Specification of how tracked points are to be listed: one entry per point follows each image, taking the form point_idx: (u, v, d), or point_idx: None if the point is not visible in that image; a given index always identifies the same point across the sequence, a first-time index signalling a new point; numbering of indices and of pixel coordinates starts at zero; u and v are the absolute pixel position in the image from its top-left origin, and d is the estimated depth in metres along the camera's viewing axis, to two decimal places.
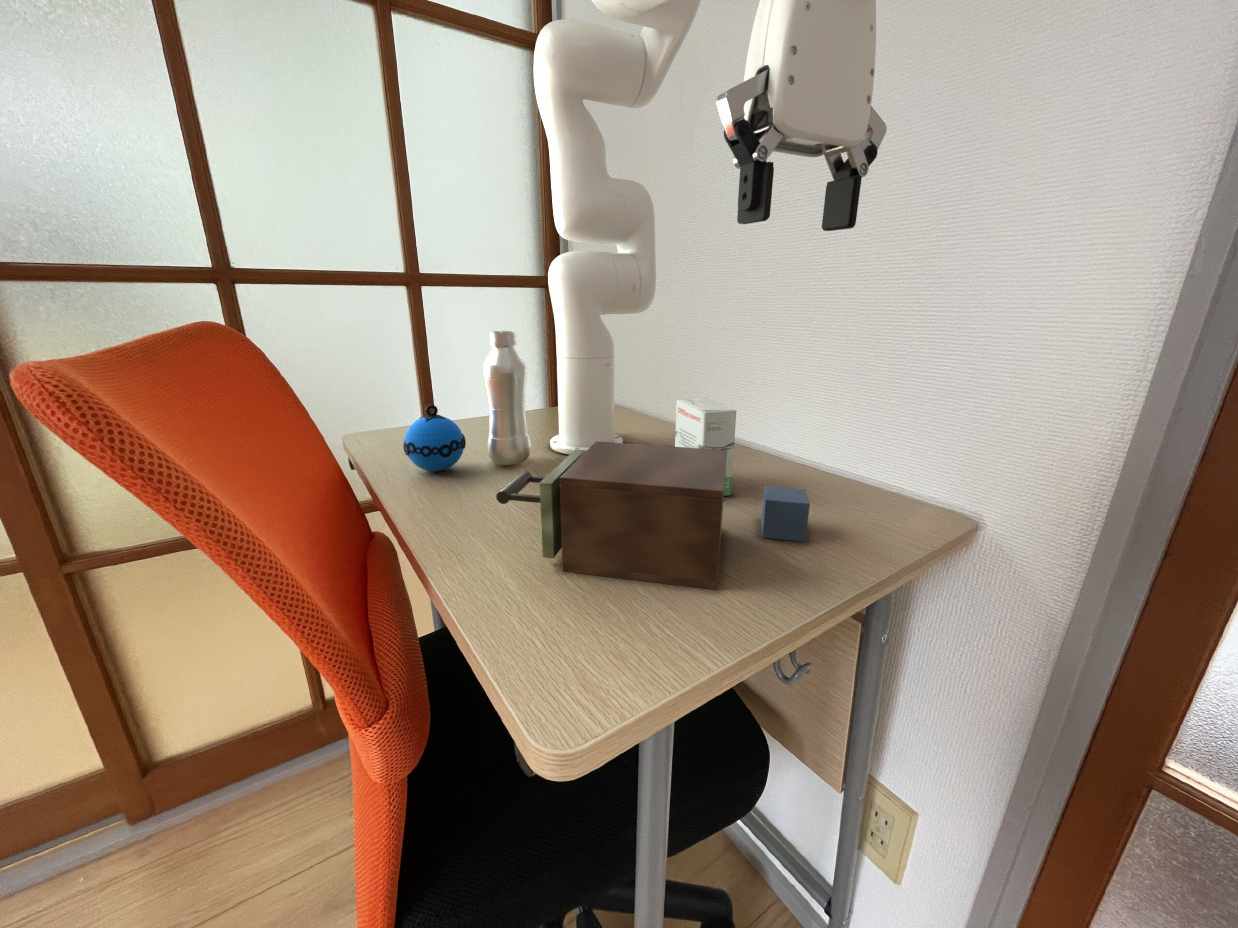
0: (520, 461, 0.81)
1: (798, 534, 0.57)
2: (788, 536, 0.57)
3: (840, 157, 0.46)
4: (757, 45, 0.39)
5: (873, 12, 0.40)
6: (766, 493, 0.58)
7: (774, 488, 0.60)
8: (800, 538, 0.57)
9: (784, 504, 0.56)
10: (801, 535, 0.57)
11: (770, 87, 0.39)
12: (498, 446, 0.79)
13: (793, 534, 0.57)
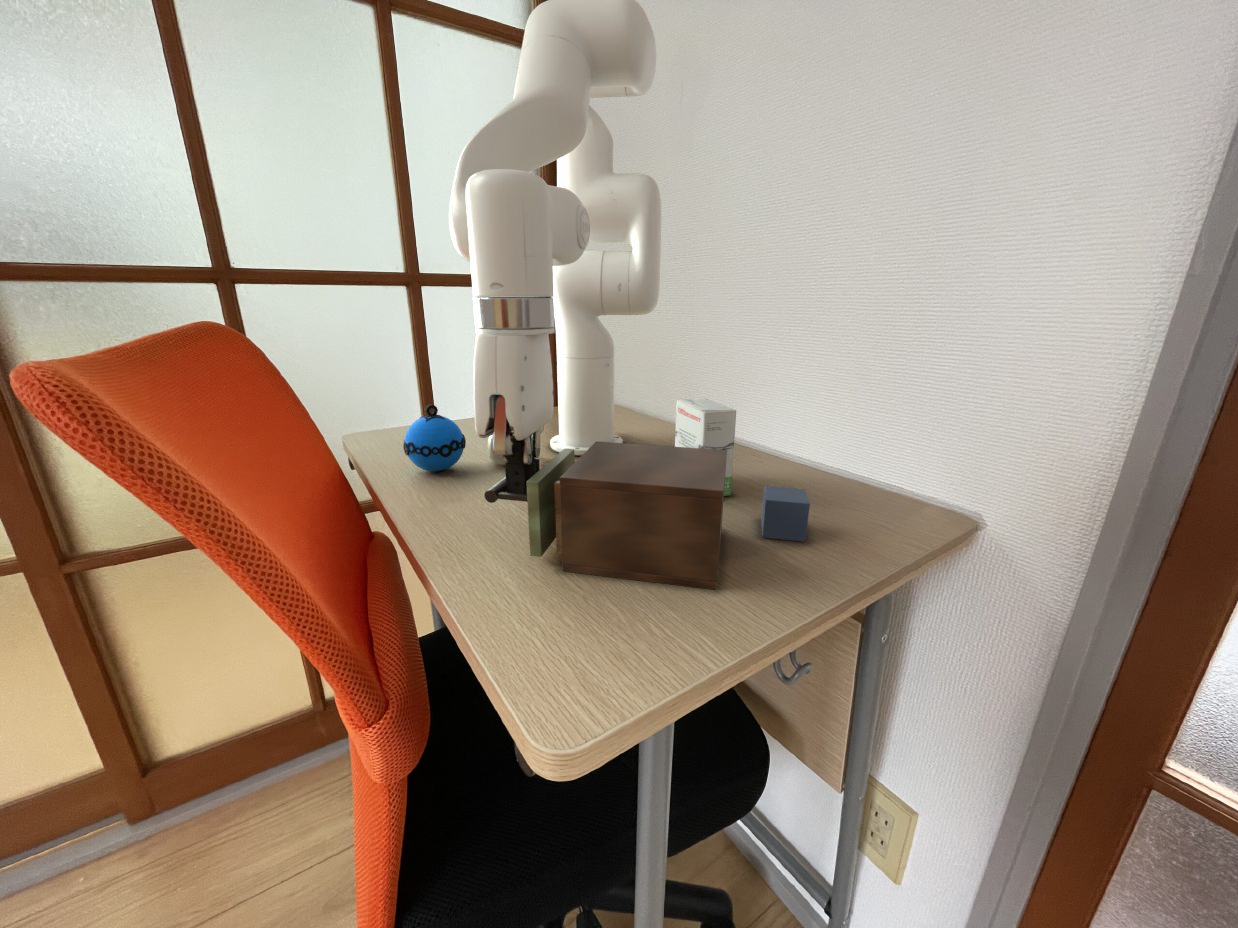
0: None
1: (798, 534, 0.57)
2: (788, 536, 0.57)
3: None
4: (487, 376, 0.48)
5: (548, 340, 0.54)
6: (766, 493, 0.58)
7: (774, 488, 0.60)
8: (800, 538, 0.57)
9: (784, 504, 0.56)
10: (801, 535, 0.57)
11: (508, 412, 0.48)
12: None
13: (793, 534, 0.57)
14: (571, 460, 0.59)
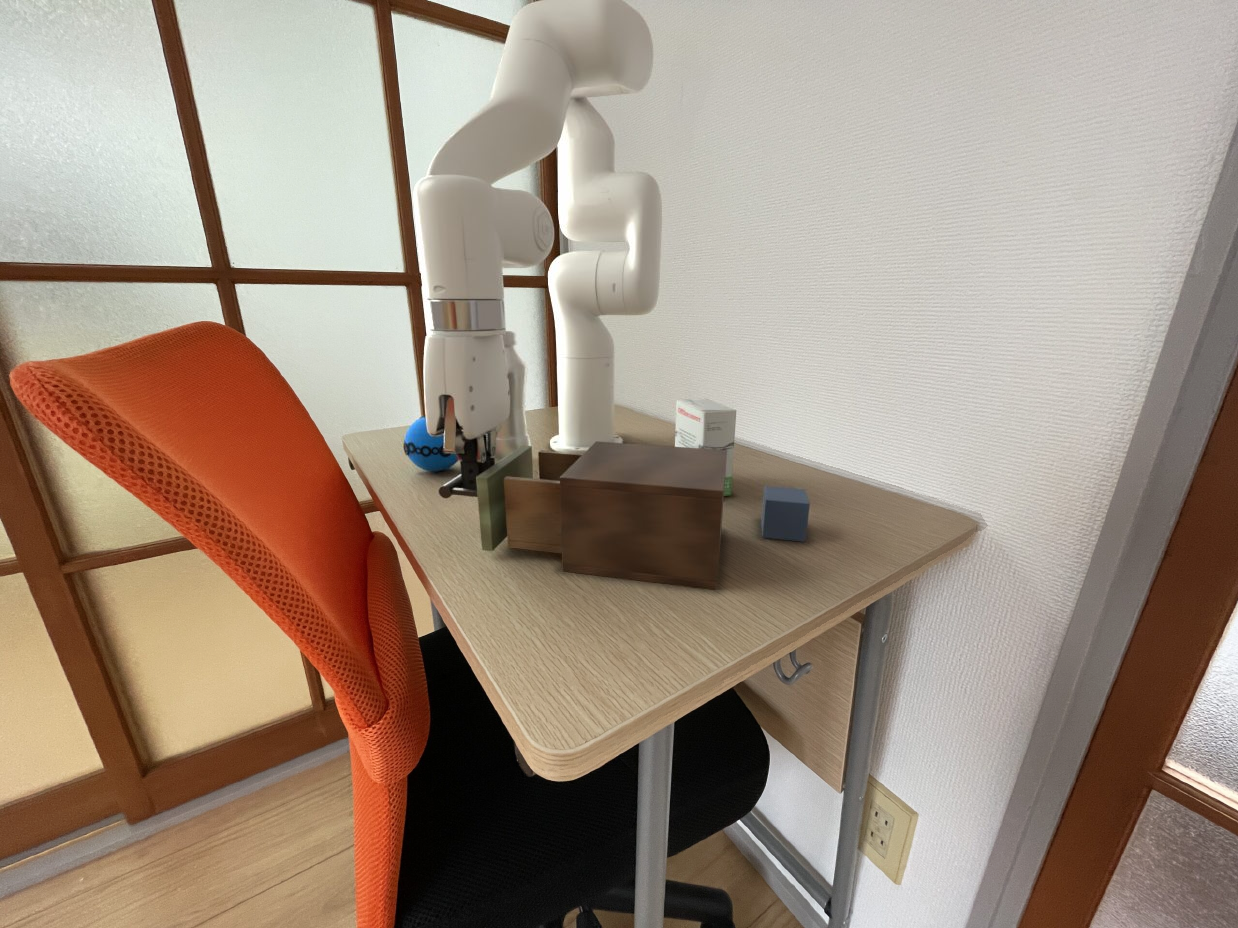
0: None
1: (798, 534, 0.57)
2: (788, 536, 0.57)
3: None
4: (436, 376, 0.49)
5: (502, 342, 0.55)
6: (766, 493, 0.58)
7: (774, 488, 0.60)
8: (800, 538, 0.57)
9: (784, 504, 0.56)
10: (801, 535, 0.57)
11: (457, 412, 0.49)
12: (498, 446, 0.79)
13: (793, 534, 0.57)
14: (528, 457, 0.60)
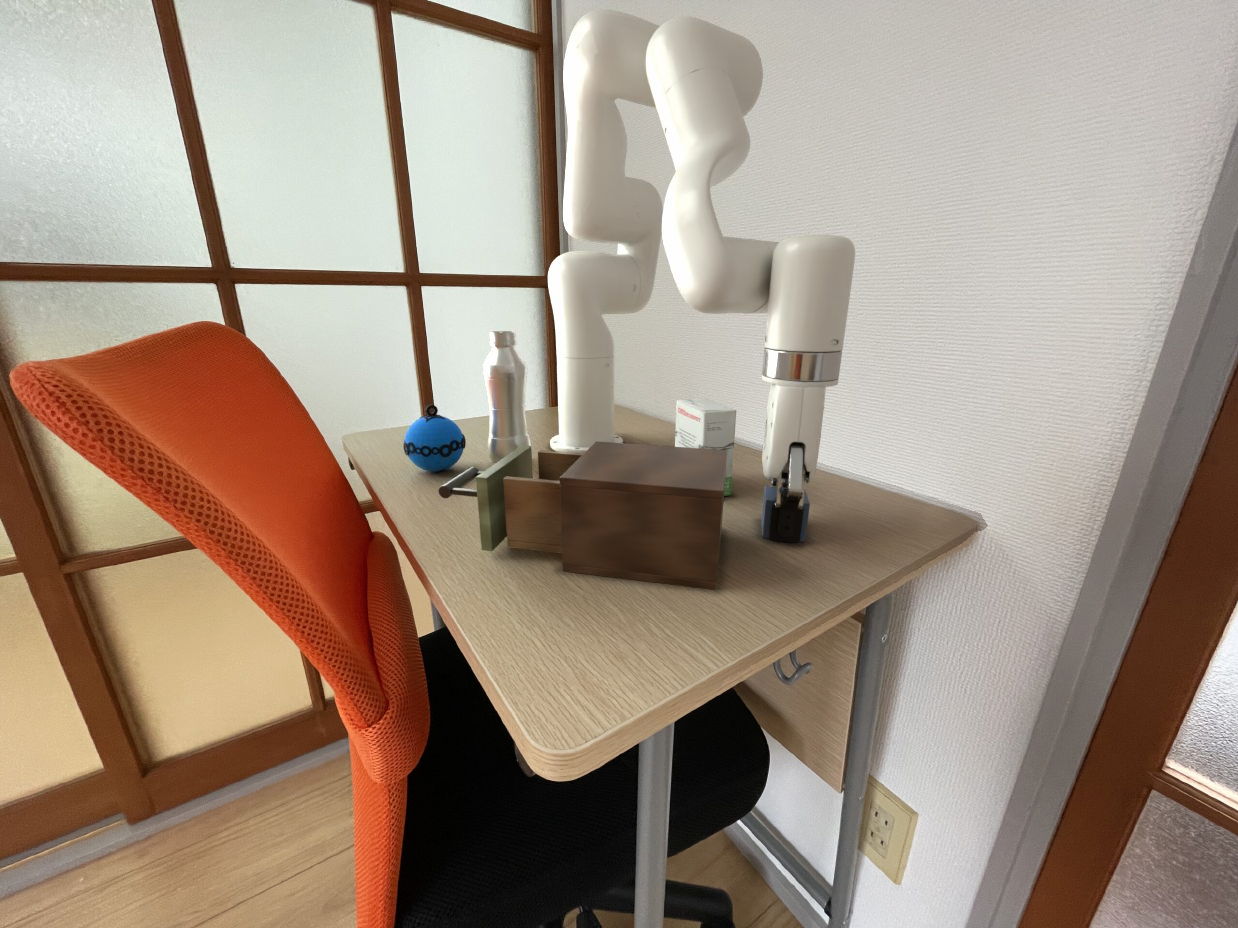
0: None
1: None
2: None
3: None
4: (790, 425, 0.51)
5: None
6: (766, 493, 0.58)
7: (774, 488, 0.60)
8: (800, 538, 0.57)
9: None
10: (801, 535, 0.57)
11: (807, 458, 0.52)
12: (498, 446, 0.79)
13: None
14: (528, 457, 0.60)
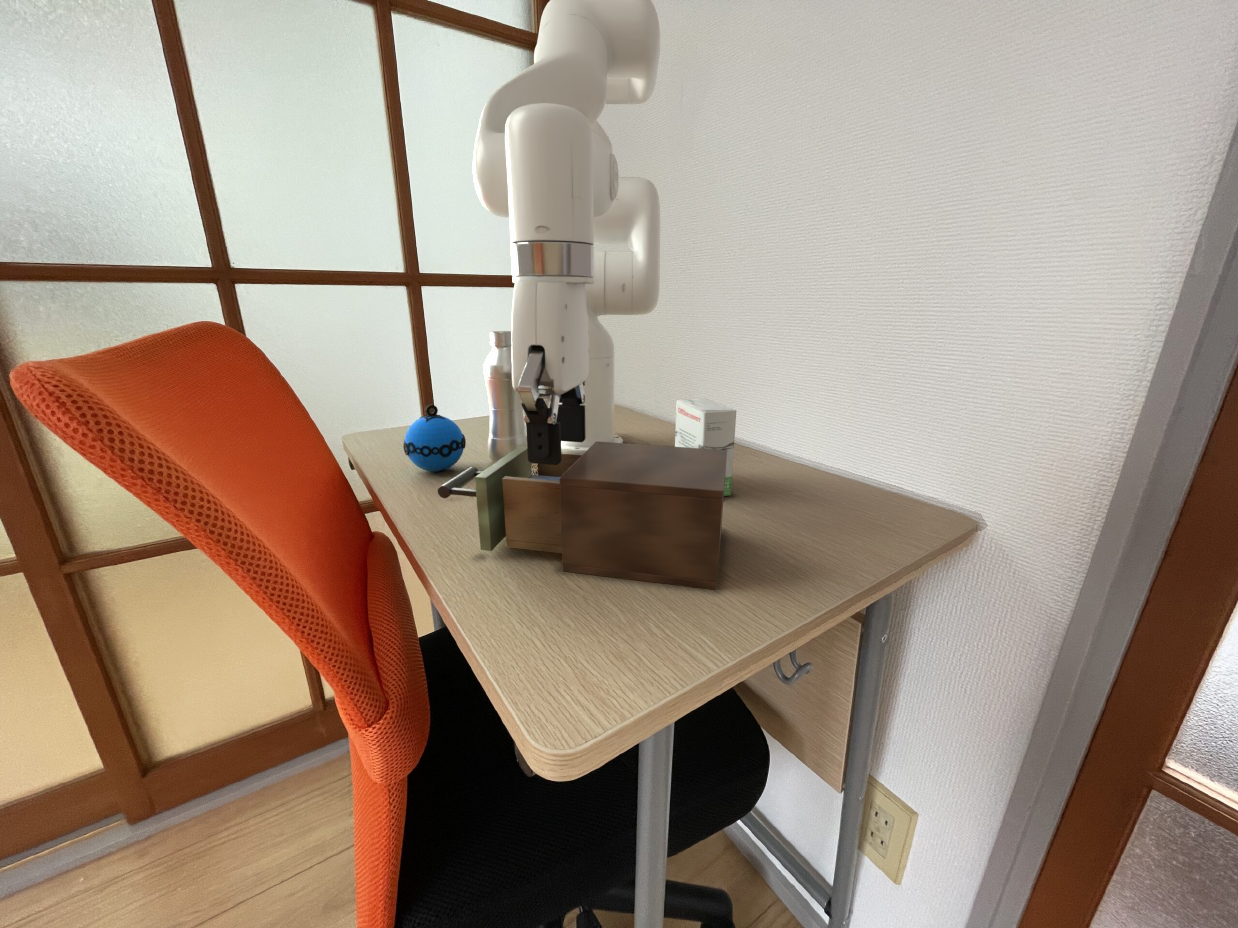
0: None
1: None
2: None
3: None
4: (526, 325, 0.46)
5: None
6: None
7: None
8: None
9: None
10: None
11: (548, 363, 0.46)
12: (498, 446, 0.79)
13: None
14: (527, 457, 0.60)
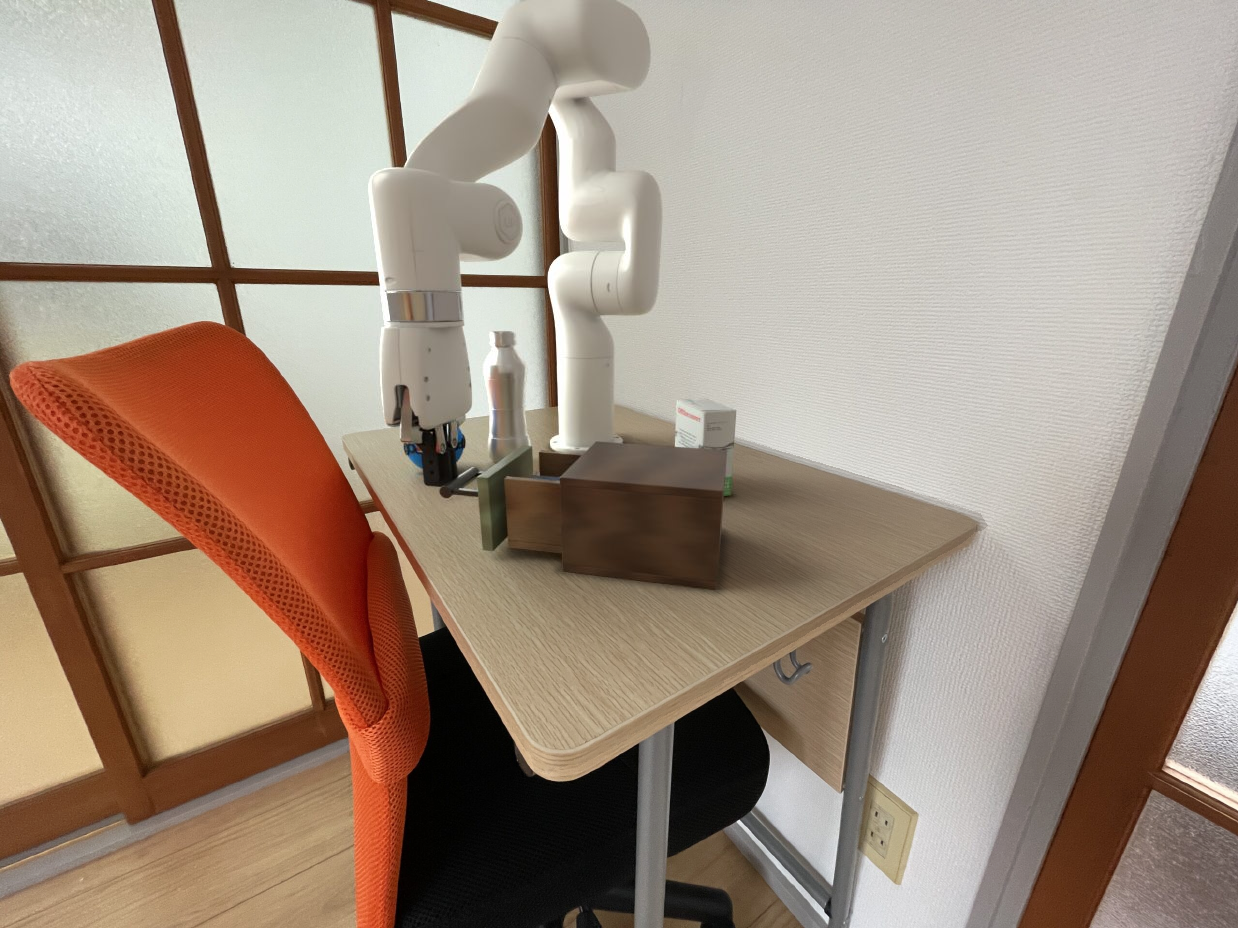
0: None
1: None
2: None
3: None
4: (391, 367, 0.50)
5: (463, 334, 0.56)
6: None
7: None
8: None
9: None
10: None
11: (412, 402, 0.50)
12: (498, 446, 0.79)
13: None
14: (528, 457, 0.60)
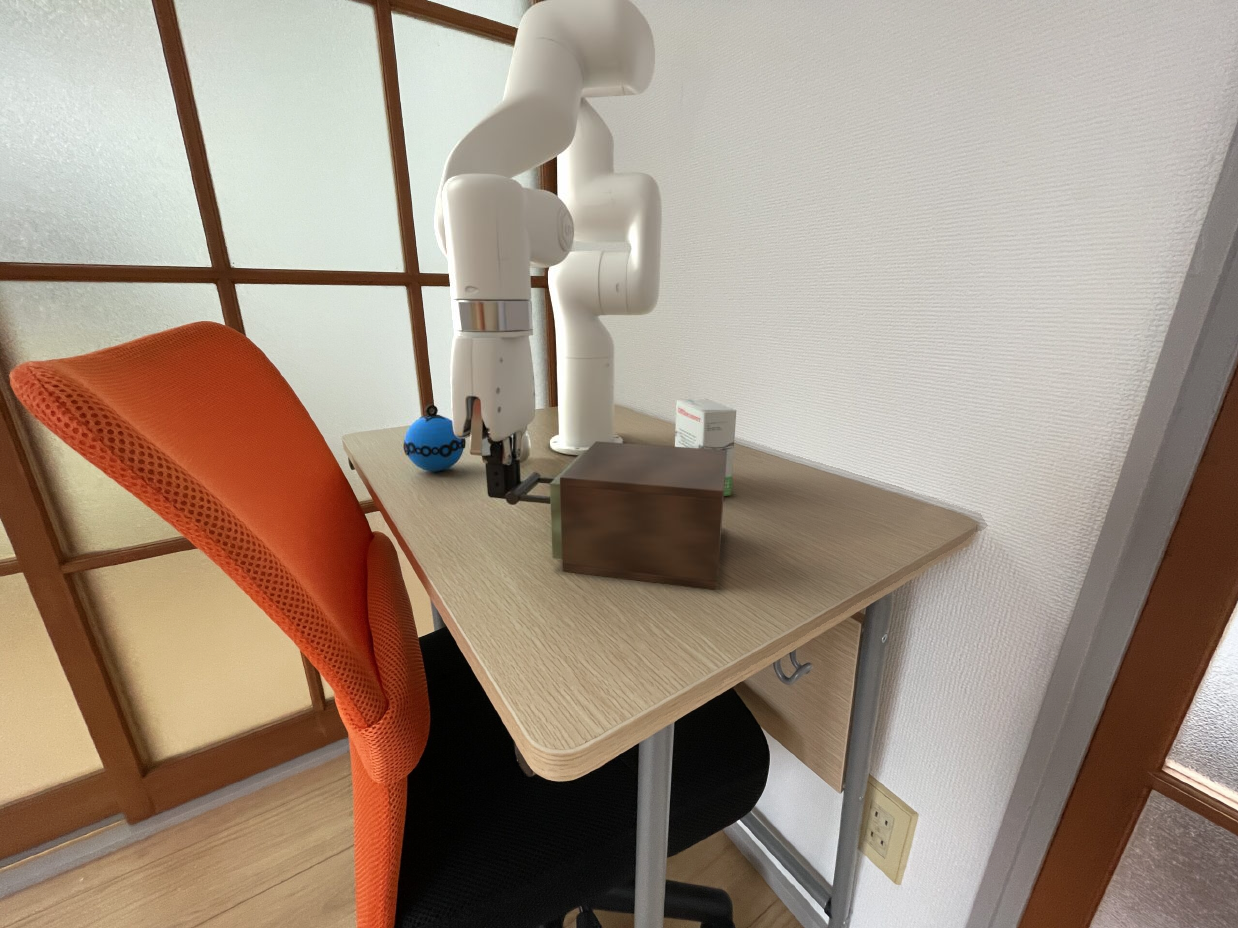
0: (520, 461, 0.81)
1: None
2: None
3: None
4: (463, 378, 0.48)
5: (529, 342, 0.55)
6: None
7: None
8: None
9: None
10: None
11: (484, 413, 0.49)
12: None
13: None
14: None
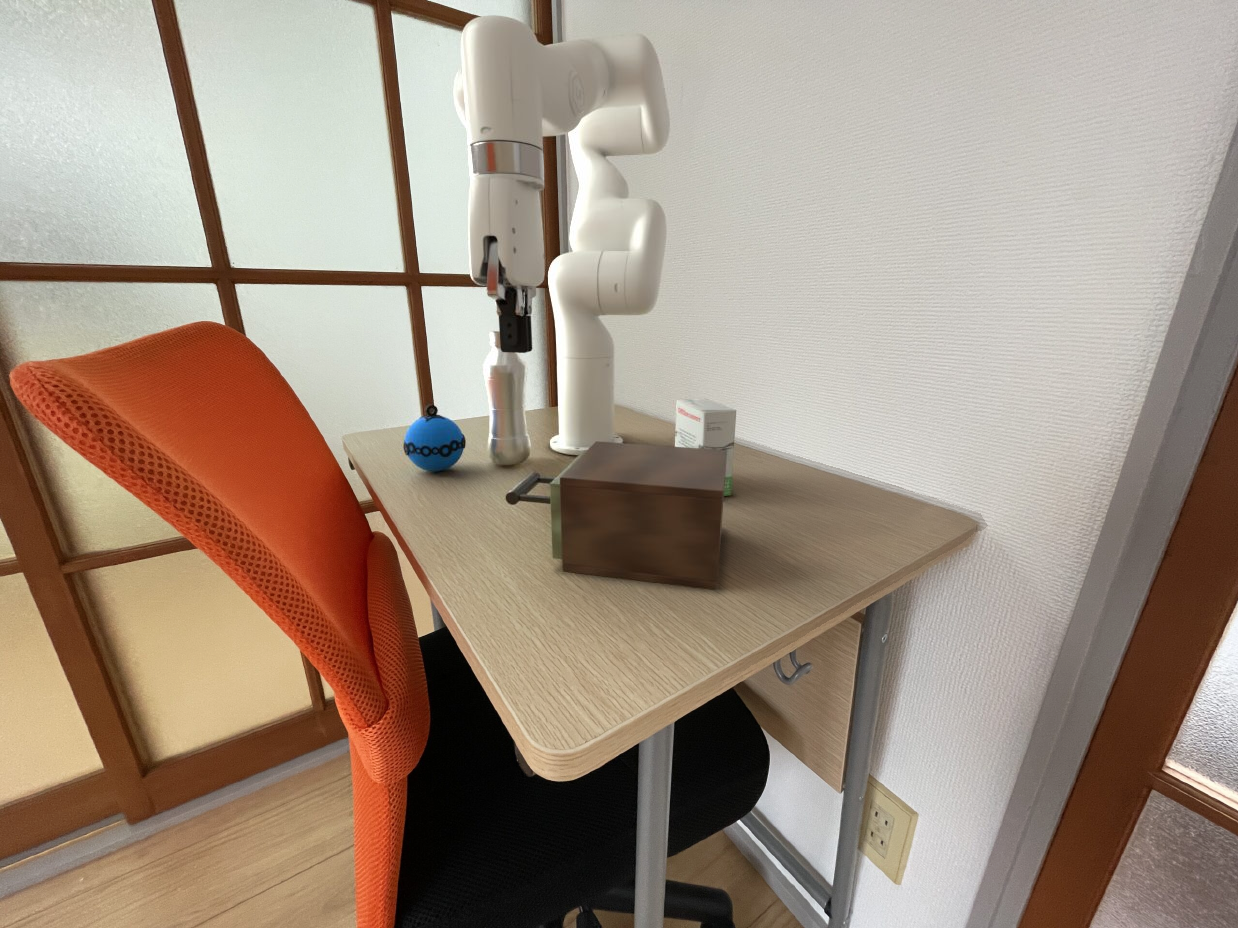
0: (520, 461, 0.81)
1: None
2: None
3: None
4: (480, 217, 0.52)
5: (539, 201, 0.58)
6: None
7: None
8: None
9: None
10: None
11: (500, 252, 0.52)
12: (498, 446, 0.79)
13: None
14: None
